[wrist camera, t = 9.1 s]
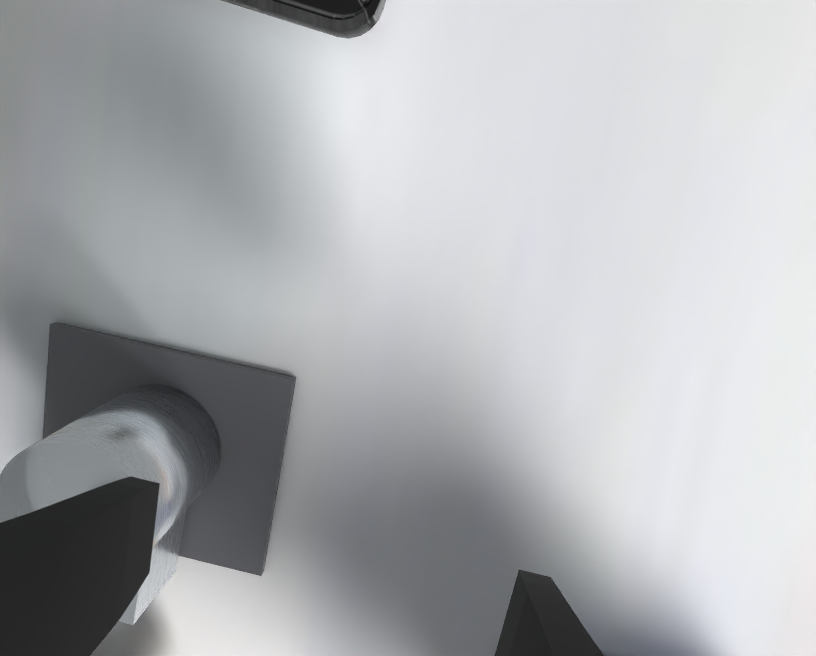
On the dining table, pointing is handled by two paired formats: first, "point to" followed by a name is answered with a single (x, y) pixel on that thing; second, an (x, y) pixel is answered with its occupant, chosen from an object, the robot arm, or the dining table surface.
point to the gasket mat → (228, 407)
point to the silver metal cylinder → (124, 467)
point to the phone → (322, 14)
